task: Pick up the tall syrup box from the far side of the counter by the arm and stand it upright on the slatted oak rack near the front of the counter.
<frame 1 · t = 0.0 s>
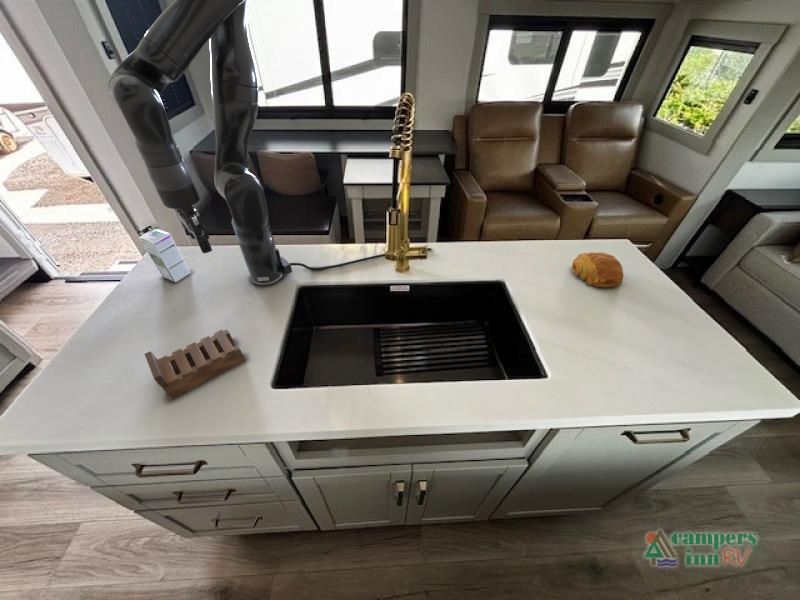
hand: (201, 244, 83), 17 cm above the worktop, tool pointing down, fingers open, 8 cm apart
rack: (204, 367, 76), on the worktop
croissant: (595, 276, 106), on the worktop
syrup box: (177, 275, 100), on the worktop
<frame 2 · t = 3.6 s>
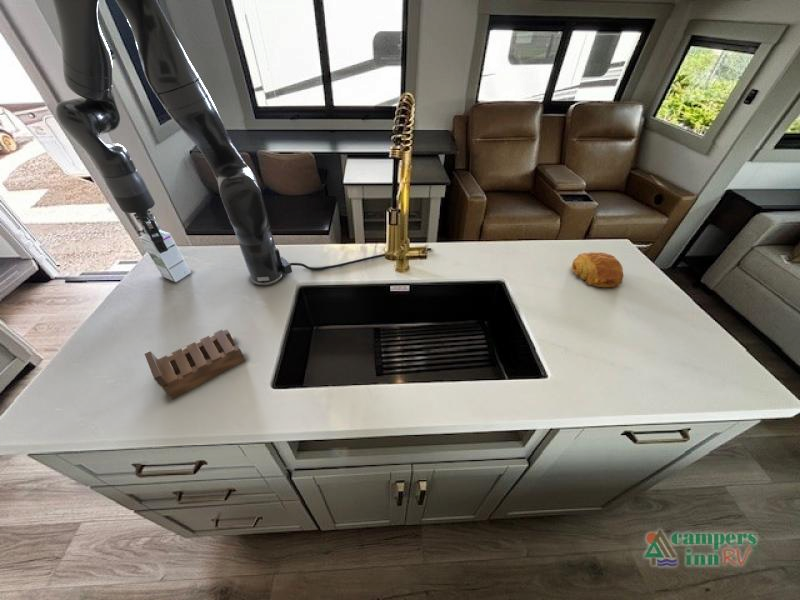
hand: (160, 245, 93), 11 cm above the worktop, tool pointing down, fingers closed on syrup box, 7 cm apart
syrup box: (177, 275, 100), on the worktop, touching gripper
everything else where it was.
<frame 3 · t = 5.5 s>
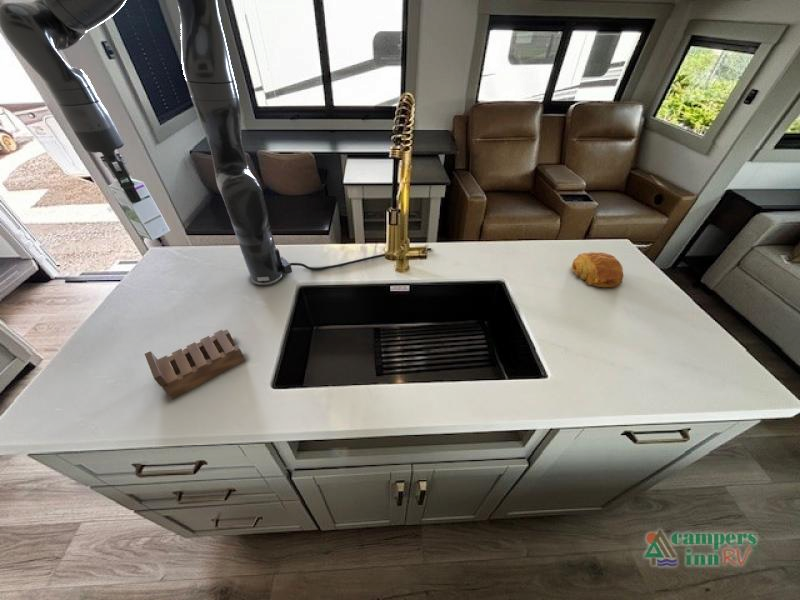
hand: (133, 196, 82), 26 cm above the worktop, tool pointing down, fingers closed on syrup box, 7 cm apart
syrup box: (155, 234, 90), point 15 cm above the worktop, touching gripper
everything else where it was.
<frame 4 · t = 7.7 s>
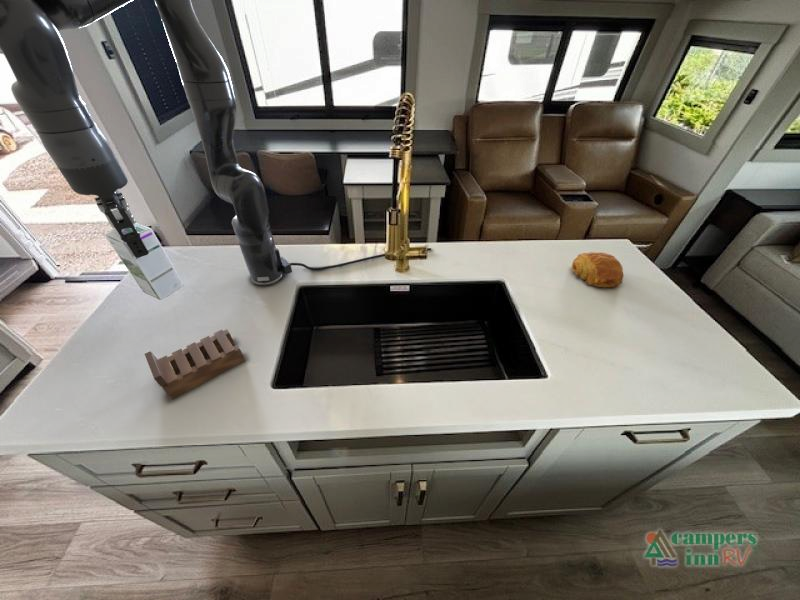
hand: (138, 246, 62), 28 cm above the worktop, tool pointing down, fingers closed on syrup box, 7 cm apart
syrup box: (164, 290, 70), point 17 cm above the worktop, touching gripper
everything else where it was.
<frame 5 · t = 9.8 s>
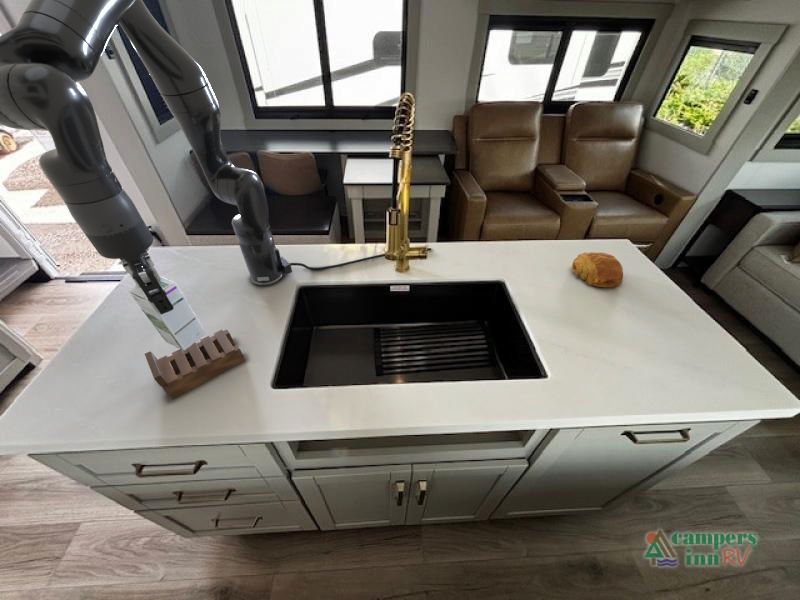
hand: (161, 299, 61), 22 cm above the worktop, tool pointing down, fingers closed on syrup box, 7 cm apart
syrup box: (186, 338, 69), point 10 cm above the worktop, touching gripper
everything else where it was.
when the fingers open (16 cm above the worktop, at t = 11.8 s): syrup box stays where it is, resting on rack.
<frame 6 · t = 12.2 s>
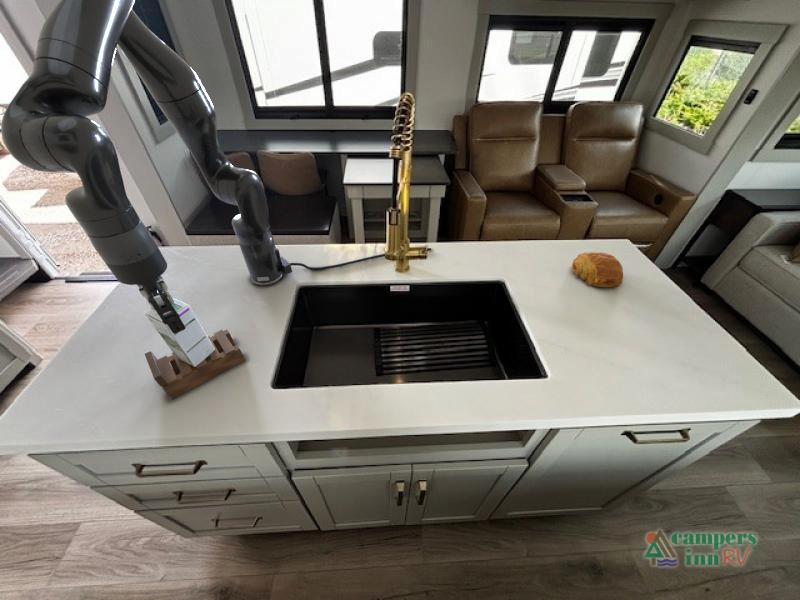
hand: (173, 318, 64), 17 cm above the worktop, tool pointing down, fingers open, 8 cm apart
syrup box: (196, 354, 72), point 5 cm above the worktop, touching rack
everything else where it was.
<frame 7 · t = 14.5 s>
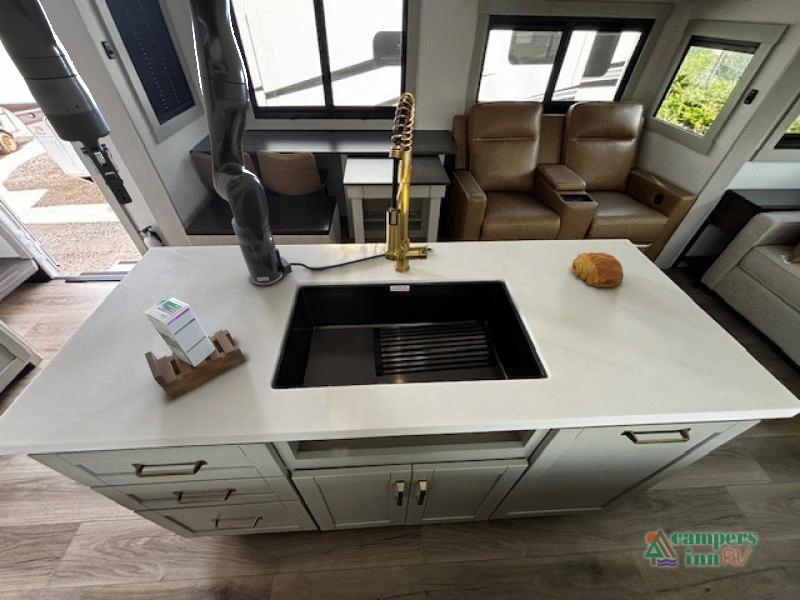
hand: (122, 195, 67), 33 cm above the worktop, tool pointing down, fingers open, 8 cm apart
nothing on the worktop moved.
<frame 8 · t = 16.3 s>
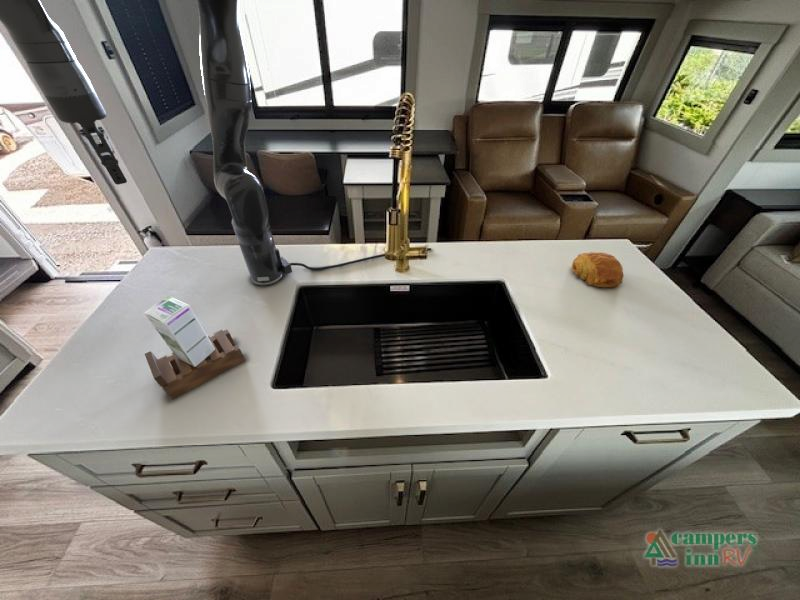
hand: (117, 177, 71), 34 cm above the worktop, tool pointing down, fingers open, 8 cm apart
nothing on the worktop moved.
at the end: syrup box inside the target area on the rack (0.1 cm from its centre), point 4.8 cm above the rack's base; syrup box tilted 0°; the gripper is holding nothing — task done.
